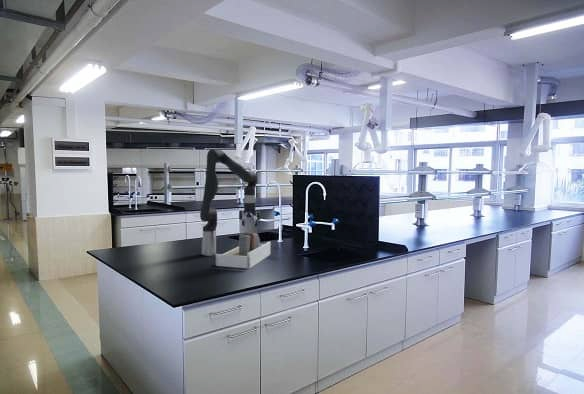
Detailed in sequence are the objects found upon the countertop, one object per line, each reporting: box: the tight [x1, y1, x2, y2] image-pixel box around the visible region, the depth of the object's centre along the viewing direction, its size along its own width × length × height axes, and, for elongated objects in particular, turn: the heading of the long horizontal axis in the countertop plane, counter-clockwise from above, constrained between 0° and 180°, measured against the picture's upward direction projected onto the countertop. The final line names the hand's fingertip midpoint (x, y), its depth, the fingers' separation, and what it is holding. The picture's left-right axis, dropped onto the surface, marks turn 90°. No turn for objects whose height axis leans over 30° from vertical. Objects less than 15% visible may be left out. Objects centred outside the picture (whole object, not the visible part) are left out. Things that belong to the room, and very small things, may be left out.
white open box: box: [215, 241, 272, 269], centre depth 246 cm, size 22×40×10 cm, turn 165°
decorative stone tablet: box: [238, 232, 261, 256], centre depth 245 cm, size 19×6×30 cm
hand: (249, 226), depth 244 cm, fingers open, 8 cm apart
